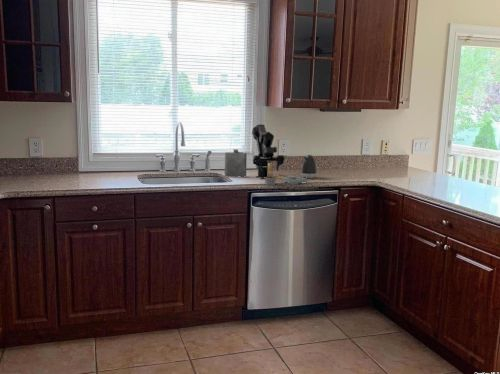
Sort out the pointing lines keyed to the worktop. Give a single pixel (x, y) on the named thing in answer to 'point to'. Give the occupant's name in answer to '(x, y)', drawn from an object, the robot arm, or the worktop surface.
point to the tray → (293, 180)
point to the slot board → (281, 176)
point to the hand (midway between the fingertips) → (270, 170)
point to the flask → (235, 163)
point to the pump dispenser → (309, 167)
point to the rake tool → (270, 175)
